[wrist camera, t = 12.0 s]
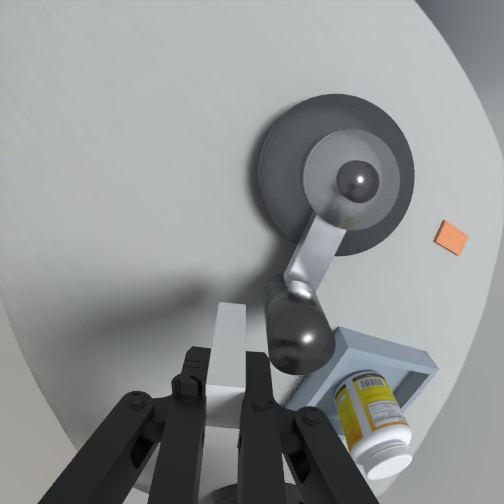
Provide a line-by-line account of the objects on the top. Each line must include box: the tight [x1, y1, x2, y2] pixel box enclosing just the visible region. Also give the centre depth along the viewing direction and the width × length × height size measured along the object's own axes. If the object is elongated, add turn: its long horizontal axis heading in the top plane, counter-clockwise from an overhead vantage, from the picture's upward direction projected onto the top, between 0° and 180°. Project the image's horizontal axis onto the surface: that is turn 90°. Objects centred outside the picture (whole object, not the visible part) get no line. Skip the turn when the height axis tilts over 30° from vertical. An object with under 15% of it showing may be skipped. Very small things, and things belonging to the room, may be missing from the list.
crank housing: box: [258, 94, 414, 256], centre depth 19 cm, size 11×11×2 cm
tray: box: [285, 327, 439, 440], centre depth 26 cm, size 12×12×3 cm
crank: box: [263, 129, 400, 375], centre depth 17 cm, size 14×6×6 cm, turn 158°
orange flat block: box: [435, 220, 469, 256], centre depth 22 cm, size 2×4×1 cm, turn 68°
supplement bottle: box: [334, 371, 412, 480], centre depth 22 cm, size 6×6×10 cm
